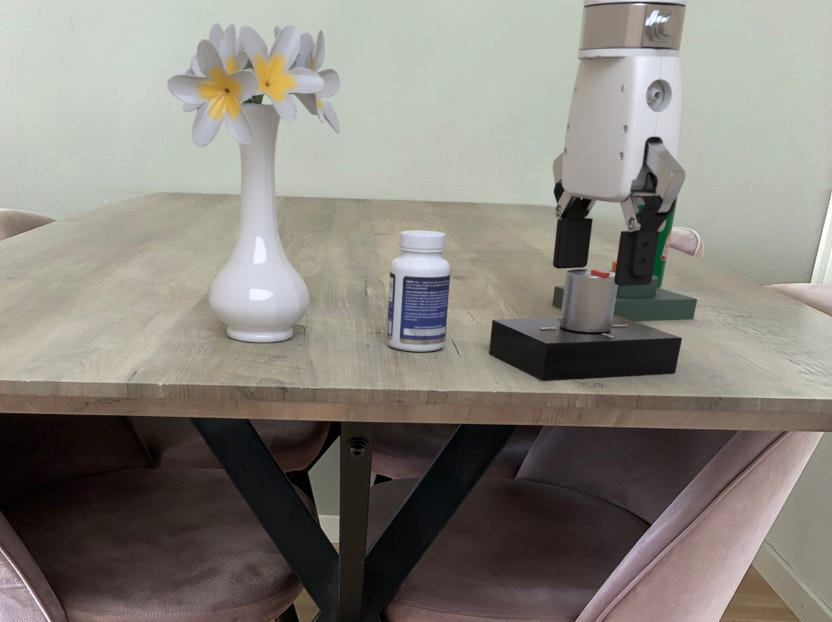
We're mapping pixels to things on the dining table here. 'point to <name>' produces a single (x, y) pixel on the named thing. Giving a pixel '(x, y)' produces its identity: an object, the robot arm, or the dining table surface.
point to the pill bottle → (418, 293)
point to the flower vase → (256, 162)
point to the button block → (645, 303)
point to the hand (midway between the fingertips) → (599, 275)
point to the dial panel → (583, 349)
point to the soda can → (662, 246)
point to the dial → (588, 301)
